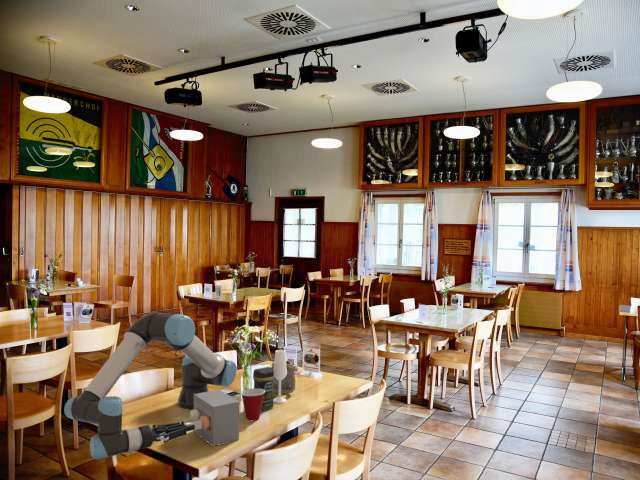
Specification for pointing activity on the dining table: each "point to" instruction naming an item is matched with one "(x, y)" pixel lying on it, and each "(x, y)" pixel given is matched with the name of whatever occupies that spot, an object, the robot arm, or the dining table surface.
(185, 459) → the dining table surface
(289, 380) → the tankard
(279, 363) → the champagne flute
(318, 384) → the dining table surface
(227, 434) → the block
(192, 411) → the ivory knob
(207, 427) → the terracotta knob
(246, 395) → the plastic cup
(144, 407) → the dining table surface
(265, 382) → the coffee jar
